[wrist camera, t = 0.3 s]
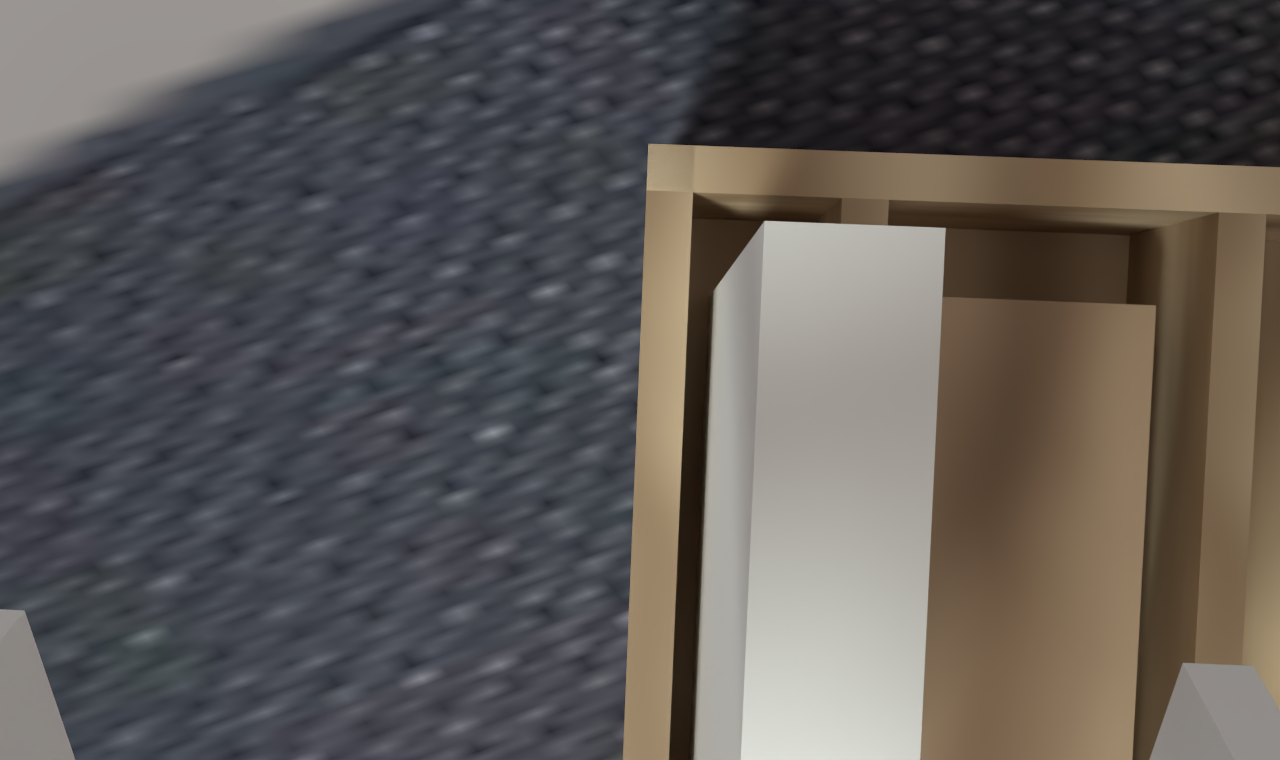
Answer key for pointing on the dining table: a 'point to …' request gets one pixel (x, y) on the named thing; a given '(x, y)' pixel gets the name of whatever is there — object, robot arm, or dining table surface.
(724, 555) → the tall sheet
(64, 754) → the robot arm
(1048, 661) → the upper offcut
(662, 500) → the rack
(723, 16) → the dining table surface
